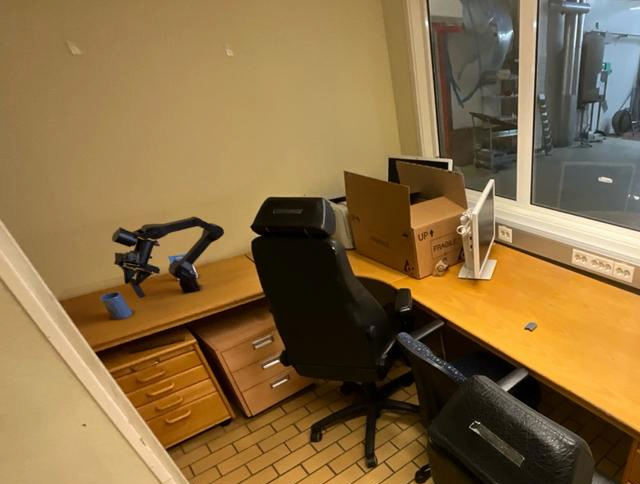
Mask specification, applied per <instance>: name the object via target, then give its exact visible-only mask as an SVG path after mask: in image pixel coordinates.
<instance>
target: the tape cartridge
mask: <svg viewBox="0 0 640 484" xmlns="http://www.w3.org/2000/svg"><path fill="white" fill-rule="evenodd" d="M186 254H187V253H184V254H183V253H182V254H175V255H168V256H167V258H168V260H169V265H170V264H171V263H172V262H173V260H174V259H176V260H177V261H178V260H181V259H182V258H183V257H184V256H185V255H186ZM190 272H191V273H193V274H195V275H196V279H197V278H199V274H198V272H197V270H196V268H195V266H194V264H193V265H192V268H191V271H190ZM176 280H177V281H178V282H179V279H178V278H176Z"/></svg>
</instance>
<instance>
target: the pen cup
mask: <svg viewBox="0 0 640 484" xmlns="http://www.w3.org/2000/svg"><path fill="white" fill-rule="evenodd" d="M99 300H100V301H101V303H102V305H103V306H104V308H105V309H106V311H107V312H108V314H109V315H110V317H111V318H112V319H113V320H123V319H126V318H129V317H131V316H132V315H133V311H132V309H131V308H130V306H129V305H128V303H127V301H126V300H125V298H124V296H123V295H122V293H121V292H120V291H113V292H108V293H105V294H102V295H101V296H100V297H99Z"/></svg>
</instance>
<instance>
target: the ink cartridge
mask: <svg viewBox="0 0 640 484" xmlns="http://www.w3.org/2000/svg"><path fill="white" fill-rule="evenodd" d="M128 281H129V283H128V284H130V287H132V289H133V291H134V293H135V295H137V297H138V298H140V299H143V298H146V297H147V295H146V293H145V291H144V290H143V288H142V287H141V285H140V284H139V285H138V286H136V285H134V284H135V277H133V278H132V279H130V280H128Z"/></svg>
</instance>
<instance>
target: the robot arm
mask: <svg viewBox="0 0 640 484" xmlns="http://www.w3.org/2000/svg"><path fill="white" fill-rule="evenodd" d="M196 227H199V228H201V229H202V232H201V235H200V237H199V239H198V240H197V241H196V242H195V243H194V244H193V245H192V246H191V248H190V249H189V250H188V251H187V252H186V253H185V254H186V255H185V256H184V257H181V258H182V259H181V260H178V261H177V260H176V259H177V258H176V259H174V260H173V262H172V263H171V264H170V263H169V264H168V269H167V270H168V273H169V274H170V275H171V276H173V277H175V278H176V279H177V278H178V279H179V281H178V282H179V283H178V284H179V286H180V288H181V291H183V294H188V293H193V292H194V293H195V292H199V291H200V290H201V284H199V282H198V279H197V278H196V275H195V274H193V273H191V272H190V271H191V268H192V265H193V266H194V263H196V261H197V260H198V259H199V258H200V257H201V256H202V255H203V253H204V252H205V251H206V250H207V248H208V247H209V246H210V245H211V244H212V243H214V242H216V241H218V240H219V239H221V237H223V236H224V234H225V230H224V228H223V227H222V226H220V225H218V224H216V223H212V222H207V221H205V220H203V219H201V218H199V217H198V216H195V215H194V216H191V217H187V218H183V219H178V220H173V221H170V222H165V223H147V224H143V225H141V228H138V229H136V230H133V231H131V230H128V229H125V228H123V227H121V226H119V227H118V229H116V230H115V231H114V232H113V233H112V237H111V241H112V242H114V243H116V244H120V245H122V246H124V247H128V248H131V247H133V250H129V251H126V252H114V263H113V264H114V265H116V266H118V267H119V268H120V269H121V270H122V271H123V279H124V284H126V285H129V284H130V283H129V281H128V280H130V279H133V278H134V279H135V284H134V285H136V286H138V285H140V284H142V283H143V282H144V281H145V280H146V279H148V278H149V277H150V276H153V275H154V274H156V275H159V274H160V273H161V272H160V271H161V269H160V267H158V266H156V265H153V264H150V263H149V261H150V259H151V260H152V259H153V256H151V255H152V253H153V249H154V247H161V244H160V243H159V241H158V240H159V239H162V238H165V237H166V236H168V235H169V234H172V233H177V232H180V231H184V230H188V229H192V228H196Z"/></svg>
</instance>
